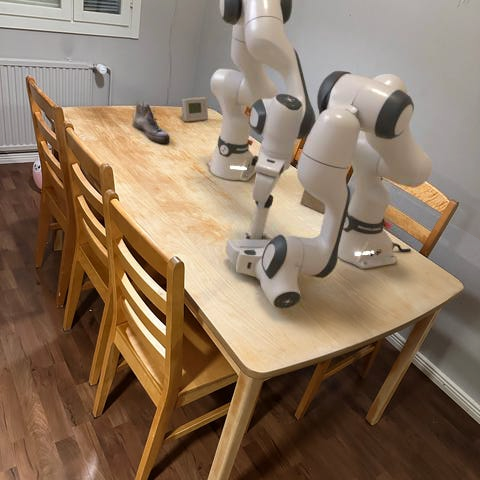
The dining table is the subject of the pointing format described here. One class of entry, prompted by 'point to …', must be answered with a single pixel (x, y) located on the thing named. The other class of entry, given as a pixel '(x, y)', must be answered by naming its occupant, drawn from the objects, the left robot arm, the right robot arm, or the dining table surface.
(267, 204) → the lid
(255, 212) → the beige cylindrical bottle
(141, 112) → the shoe
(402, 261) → the dining table surface
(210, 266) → the dining table surface
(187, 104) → the digital clock
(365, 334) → the dining table surface
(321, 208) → the wooden block
